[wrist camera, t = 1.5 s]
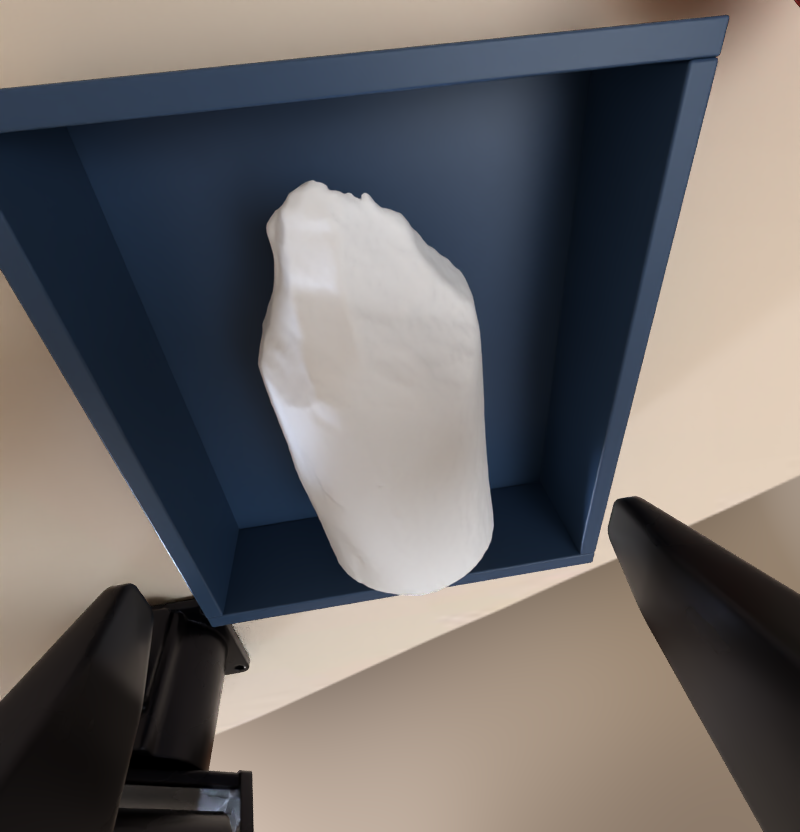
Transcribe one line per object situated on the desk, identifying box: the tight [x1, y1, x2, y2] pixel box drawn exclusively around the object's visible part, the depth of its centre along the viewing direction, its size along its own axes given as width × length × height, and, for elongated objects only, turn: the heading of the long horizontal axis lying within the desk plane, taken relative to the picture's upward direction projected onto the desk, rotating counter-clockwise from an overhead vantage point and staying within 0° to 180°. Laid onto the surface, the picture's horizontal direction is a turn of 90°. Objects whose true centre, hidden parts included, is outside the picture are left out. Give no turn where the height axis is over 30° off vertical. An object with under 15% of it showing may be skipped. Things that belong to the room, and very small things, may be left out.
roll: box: [258, 180, 494, 596], centre depth 14 cm, size 6×12×6 cm, turn 10°
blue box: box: [0, 15, 729, 627], centre depth 14 cm, size 16×14×4 cm
